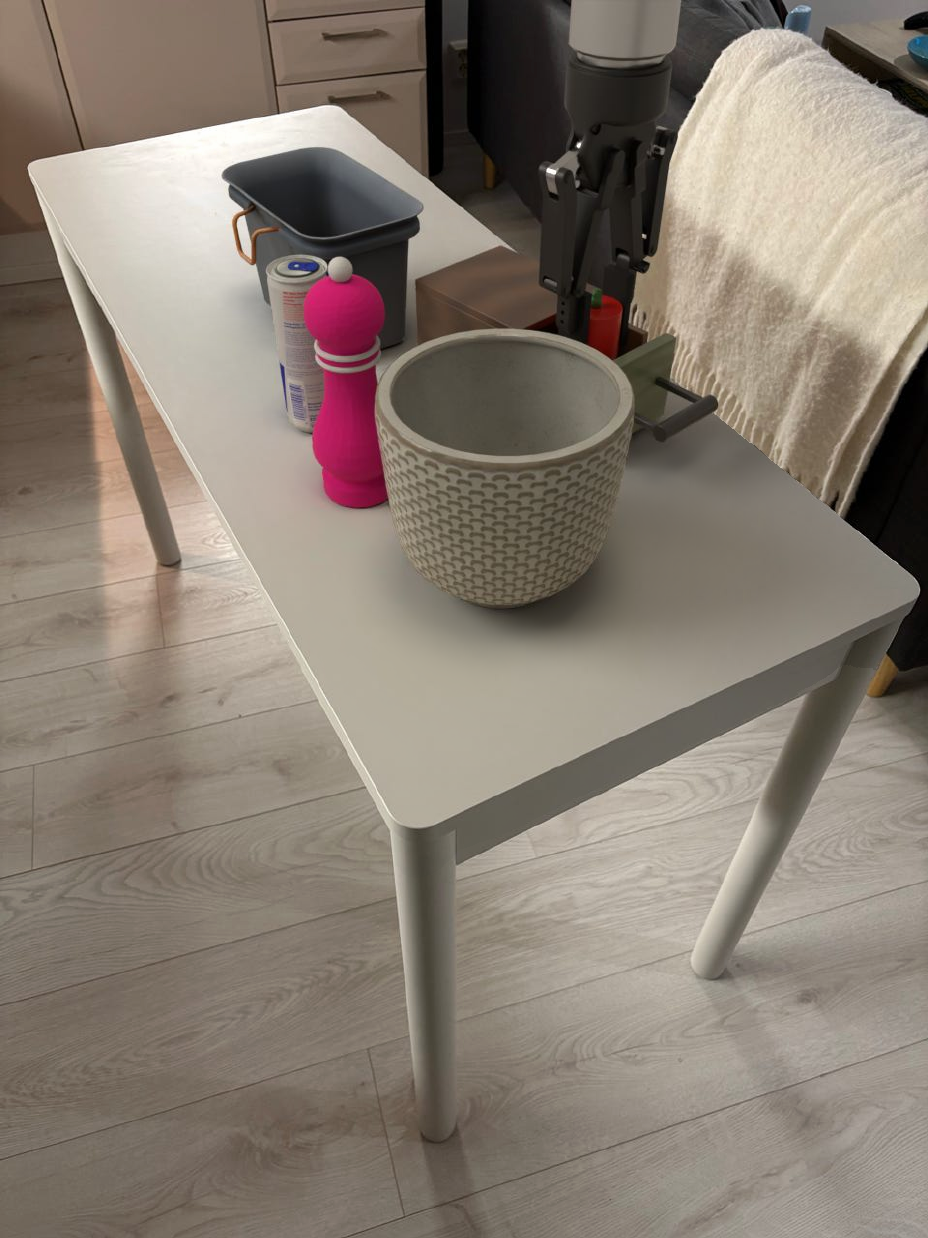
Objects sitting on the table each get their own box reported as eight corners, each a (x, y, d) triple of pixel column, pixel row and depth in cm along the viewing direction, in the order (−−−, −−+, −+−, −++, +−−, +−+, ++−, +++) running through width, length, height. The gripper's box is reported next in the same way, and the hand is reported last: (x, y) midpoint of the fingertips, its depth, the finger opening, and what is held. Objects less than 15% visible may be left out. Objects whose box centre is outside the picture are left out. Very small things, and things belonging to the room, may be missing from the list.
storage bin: (441, 346, 100) (438, 205, 91) (309, 391, 94) (290, 246, 84) (339, 272, 113) (327, 141, 103) (216, 308, 107) (190, 172, 97)
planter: (573, 491, 82) (589, 314, 71) (644, 631, 70) (676, 444, 59) (372, 519, 80) (355, 341, 69) (410, 670, 68) (397, 482, 57)
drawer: (719, 443, 86) (736, 363, 81) (647, 489, 81) (660, 407, 76) (565, 364, 96) (570, 289, 90) (492, 401, 91) (493, 323, 86)
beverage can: (348, 408, 92) (332, 252, 82) (338, 438, 88) (320, 279, 78) (295, 405, 92) (273, 250, 82) (283, 435, 89) (258, 277, 78)
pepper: (627, 353, 85) (636, 289, 81) (592, 372, 83) (599, 307, 79) (589, 334, 88) (595, 271, 84) (553, 352, 86) (558, 288, 82)
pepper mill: (303, 500, 82) (268, 270, 68) (342, 454, 87) (318, 230, 73) (380, 520, 80) (362, 287, 66) (416, 472, 85) (406, 245, 71)
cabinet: (595, 384, 95) (604, 290, 88) (514, 427, 90) (518, 330, 83) (498, 334, 102) (500, 244, 95) (418, 371, 97) (414, 279, 90)
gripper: (658, 20, 75) (624, 304, 92) (494, 65, 67) (489, 369, 83) (738, 39, 71) (688, 332, 88) (574, 90, 63) (552, 404, 79)
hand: (591, 350), depth 85 cm, fingers closed on pepper, 5 cm apart
